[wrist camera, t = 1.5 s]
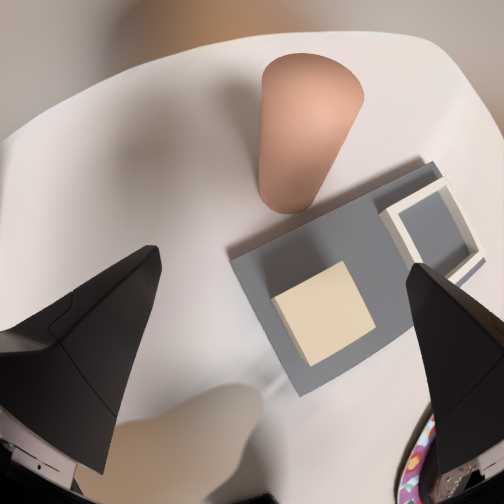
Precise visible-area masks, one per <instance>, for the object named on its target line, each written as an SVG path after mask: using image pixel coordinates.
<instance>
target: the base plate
mask: <svg viewBox="0 0 504 504" xmlns="http://www.w3.org/2000/svg"><path fill="white" fill-rule="evenodd" d="M485 255H486V253H485V251H484V249H483V246H482V244H481V242H480V239H479V237H478V235H477V233H476V231H475V229H474V227H473V224H472V222H471V220H470V218H469V216H468V214H467V212H466V211H465V209H464V207H463V205H462V203H461V201H460V199H459V197H458V196H457V194H456V192H455V190H454V189H453V187H452V185H451V183H450V182H449V180H448V178H447V177H446V175H445V176H442V175H441V173H440V171H439V170H438V168H437V167H436V165H435V163H434V162H433V161H432V162H430V163H428V164H426V165H424V166H422V167H420V168H418V169H416V170H414V171H412V172H410V173H407V174H405V175H403V176H401V177H399V178H397V179H395V180H393V181H391V182H389V183H387V184H385V185H383V186H381V187H379V188H377V189H375V190H373V191H371V192H369V193H367V194H365V195H363V196H361V197H359V198H357V199H355V200H353V201H351V202H349V203H347V204H345V205H343V206H341V207H339V208H337V209H335V210H333V211H331V212H329V213H327V214H325V215H322V216H320V217H318V218H316V219H314V220H312V221H310V222H308V223H306V224H304V225H302V226H300V227H298V228H296V229H294V230H292V231H290V232H288V233H286V234H284V235H282V236H280V237H278V238H276V239H274V240H272V241H270V242H268V243H266V244H264V245H262V246H260V247H258V248H256V249H254V250H252V251H250V252H248V253H246V254H244V255H242V256H240V257H238V258H236V259H234V260H232V261H230V264H231V266H232V268H233V270H234V272H235V274H236V276H237V278H238V280H239V282H240V284H241V286H242V288H243V290H244V292H245V294H246V296H247V298H248V300H249V302H250V304H251V306H252V308H253V310H254V312H255V314H256V316H257V318H258V320H259V321H260V323H261V325H262V327H263V329H264V331H265V333H266V335H267V337H268V339H269V341H270V343H271V345H272V346H273V348H274V350H275V352H276V354H277V356H278V358H279V360H280V362H281V364H282V365H283V367H284V369H285V371H286V373H287V375H288V377H289V379H290V380H291V382H292V384H293V386H294V388H295V390H296V392H297V393H298V395H299V397H302V396H303V395H305V394H307V393H309V392H311V391H313V390H315V389H317V388H318V387H320V386H322V385H324V384H326V383H327V382H329V381H331V380H333V379H334V378H336V377H338V376H340V375H341V374H343V373H345V372H346V371H348V370H350V369H351V368H353V367H354V366H356V365H358V364H359V363H361V362H362V361H364V360H365V359H367V358H368V357H370V356H372V355H373V354H375V353H376V352H378V351H379V350H380V349H382V348H383V347H385V346H386V345H388V344H389V343H391V342H392V341H393V340H395V339H396V338H398V337H399V336H400V335H402V334H403V333H404V332H406V331H407V330H408V329H410V328H411V327H412V326H414V324H413V320H412V315H411V310H410V305H409V300H408V295H407V290H406V280H407V277H408V275H409V272H410V270H411V268H412V265H413V264H414V263H425V264H426V265H428V266H429V267H431V268H432V269H434V270H435V271H436V272H438V273H439V274H441V275H442V276H444V277H445V278H446V279H448V280H449V281H451V282H452V283H453V284H455V285H456V286H458V287H460V286H461V285H463V284H464V283H465V282H466V281H467V280H468V279H469V278H470V277H471V276H472V275H473V274H474V273H475V272H476V271H477V270H478V269H479V268H480V267H481V266H482V265H483V264H484V263H485V262H486V261H485V259H484V256H485Z"/></svg>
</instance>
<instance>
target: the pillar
mask: <svg viewBox="0 0 504 504" xmlns="http://www.w3.org/2000/svg"><path fill="white" fill-rule="evenodd" d="M363 101H364V93H363V89H362V86H361V84H360V82H359V81H358V79H357V78H356V77H355V75H354V74H353V73H352V72H351V71H349V70H348V69H347V68H346V67H344V66H343V65H341V64H340V63H338V62H336V61H334V60H332V59H329V58H326V57H323V56H320V55H315V54H307V53H296V54H289V55H285V56H282V57H279V58H277V59H275V60H274V61H272V62H271V63H270V64H269V65H268V66H267V67H266V69H265V71H264V73H263V77H262V102H261V129H260V155H259V180H258V189H259V194H260V196H261V199H262V200H263V202H264V203H265V204H266V205H267V206H268V207H269V208H271V209H272V210H274V211H276V212H278V213H282V214H296V213H300V212H302V211H304V210H305V209H307V208H308V207H309V206H310V205H311V204H312V202H313V201H314V199H315V197H316V195H317V193H318V191H319V189H320V187H321V186H322V184H323V182H324V180H325V178H326V176H327V174H328V172H329V170H330V168H331V166H332V164H333V162H334V160H335V158H336V157H337V155H338V153H339V151H340V149H341V147H342V145H343V143H344V141H345V139H346V137H347V135H348V133H349V131H350V129H351V127H352V125H353V123H354V121H355V119H356V117H357V115H358V113H359V111H360V109H361V107H362V104H363Z"/></svg>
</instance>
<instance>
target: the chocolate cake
mask: <svg viewBox="0 0 504 504" xmlns="http://www.w3.org/2000/svg"><path fill="white" fill-rule="evenodd" d="M478 469H479V465H478V461H475V462H472V463H470V464H468V465H466V466H464V467H461V468H459V469H457V470H454V471H452V472H449V473H447V474H444V475H441V476H440V474H439V464H438V451H437V441H436V432H435V423H434V417H433V410H432V411H431V413H430V415H429V417H428V420H427V422H426V424H425V426H424V428H423V430H422V432H421V434H420V436H419V438H418V440H417V442H416V444H415V446H414V448H413V450H412V451H411V453H410V455H409V457H408V458H407V462H406V464H405V467H404V468H403V469H402V470H401V474H400V477H399V481H398V488H397V495H396V498H397V501H396V502H397V504H435V503H437V502H440V501H442V500H444V499H447V498H449V497H451V496H453V494H454V492H455V490H456V488H457V486H458V484H459V483H460V481H461V479H462V477H463V476H466V475H468V474H470V473H472V472H474V471H476V470H478Z"/></svg>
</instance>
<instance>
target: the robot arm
mask: <svg viewBox="0 0 504 504" xmlns="http://www.w3.org/2000/svg"><path fill="white" fill-rule="evenodd" d="M161 271H162V264H161V259H160V253H159V248H158V247H157V246H154V245H146V246H144V247H142V248H141V249H139V250H137V251H135V252H134V253H132V254H130V255H129V256H127V257H125V258H124V259H122V260H120V261H119V262H117V263H115V264H114V265H112V266H111V267H109V268H107V269H106V270H104V271H102V272H101V273H99V274H98V275H96V276H95V277H93V278H91V279H90V280H88V281H87V282H85V283H84V284H82V285H80V286H79V287H77V288H76V289H74V290H73V292H70V293H68V294H67V295H65V296H64V297H62V298H60V299H59V300H57V301H56V302H54V303H53V304H51V305H49V306H48V307H46V308H44V309H43V310H41V311H39V312H38V313H36V314H34V315H32V316H31V317H29V318H27V319H26V320H24V321H22V322H21V323H19V324H17V325H16V326H14V327H12V328H10V329H7V330H4V331H0V504H102V503H99V502H97V501H94V500H92V499H90V498H87V497H85V496H84V495H83V493H82V491H81V490H80V488H79V486H78V484H77V483H76V480H75V479H74V474H75V470H76V467H77V465H78V466H81V467H83V468H85V469H88V470H90V471H93V472H96V473H98V474H101V475H103V472H104V468H105V464H106V460H107V455H108V451H109V447H110V443H111V439H112V435H113V431H114V427H115V424H116V420H117V419H116V418H117V416H118V412H119V409H120V405H121V402H122V398H123V395H124V391H125V388H126V385H127V382H128V378H129V375H130V372H131V369H132V366H133V363H134V360H135V357H136V354H137V351H138V348H139V345H140V342H141V339H142V336H143V333H144V330H145V327H146V325H147V322H148V319H149V316H150V313H151V311H152V307H153V304H154V299H155V295H156V291H157V287H158V283H159V279H160V276H161ZM406 290H407V295H408V300H409V305H410V310H411V315H412V320H413V324H414V328H415V331H416V335H417V339H418V343H419V347H420V351H421V355H422V359H423V363H424V368H425V372H426V377H427V382H428V387H429V392H430V398H431V404H432V410H433V417H434V423H435V432H436V441H437V451H438V464H439V474H440V476H441V475H444V474H447V473H449V472H452V471H454V470H457V469H459V468H461V467H464V466H466V465H468V464H470V463H472V462H475V461H478V465H479V469H478V470H476V471H474V472H472V473H470V474H468V475H466V476H463V477H462V479H461V481H460V483H459V484H458V486H457V488H456V490H455V492H454V494H453V496H451V497H449V498H447V499H444V500H442V501H440V502H437V503H435V504H504V322H503V321H502V320H500V319H499V318H498V317H497V316H495V315H494V314H493V313H492V312H490V311H489V310H488V309H487V308H485V307H484V306H483V305H481V304H480V303H479V302H478V301H476V300H475V299H474V298H472V297H471V296H470V295H468V294H467V293H466V292H464V291H463V290H462V289H460V288H459V287H458V286H456V285H455V284H453V283H452V282H451V281H449V280H448V279H446V278H445V277H444V276H442V275H441V274H439V273H438V272H436V271H435V270H434V269H432V268H431V267H429V266H428V265H426V264H425V263H414V264H413V265H412V268H411V270H410V272H409V275H408V277H407V280H406ZM265 498H269V499H265ZM235 504H278V503H277V502H276V500H275V499H274V498H273V496H272V495H270V494H265V495H262V496H259V497H256V498H253V499H249V500H245V501H242V502H238V503H235Z"/></svg>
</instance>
